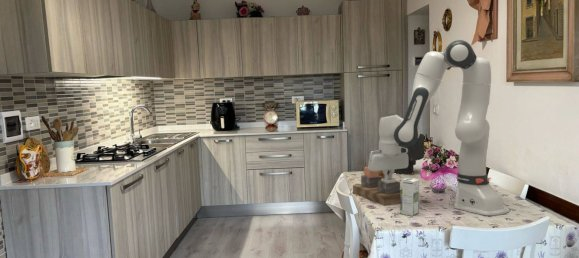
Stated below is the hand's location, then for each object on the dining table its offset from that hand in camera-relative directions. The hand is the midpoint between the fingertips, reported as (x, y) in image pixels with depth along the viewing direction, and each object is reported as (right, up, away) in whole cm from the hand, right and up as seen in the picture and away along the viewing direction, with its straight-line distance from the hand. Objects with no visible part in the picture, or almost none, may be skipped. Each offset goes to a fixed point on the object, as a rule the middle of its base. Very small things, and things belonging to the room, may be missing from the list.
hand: (388, 179), depth 202 cm
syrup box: (+4, -12, -20) cm, 24 cm away
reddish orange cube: (-5, -1, +13) cm, 14 cm away
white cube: (0, -5, 0) cm, 5 cm away
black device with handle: (+24, -4, +63) cm, 68 cm away
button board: (-2, -9, +7) cm, 12 cm away
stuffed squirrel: (+5, -6, +40) cm, 41 cm away
